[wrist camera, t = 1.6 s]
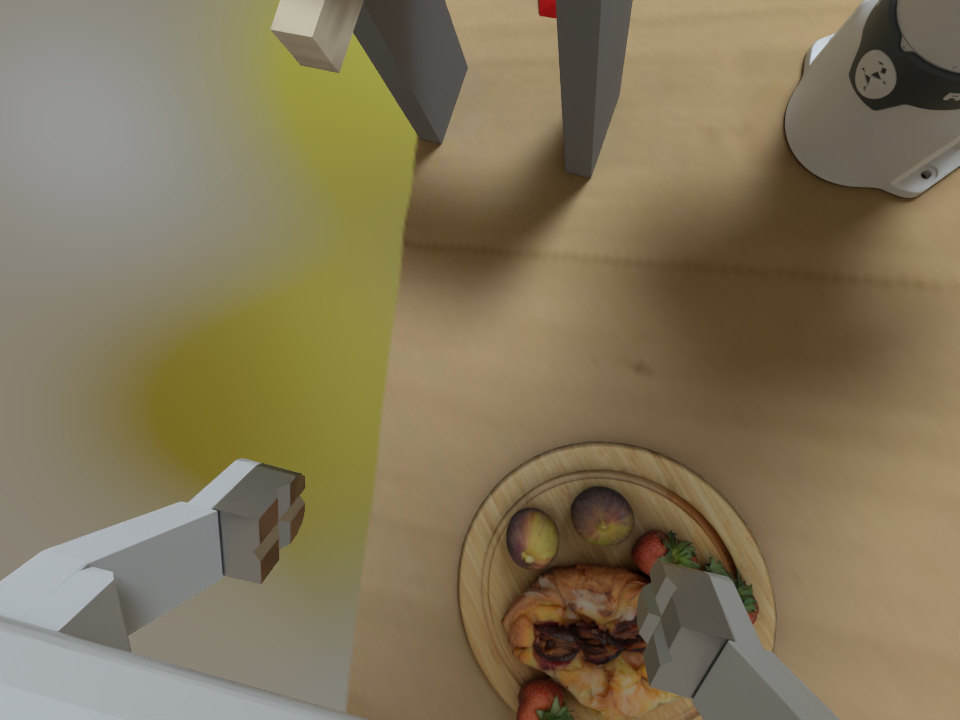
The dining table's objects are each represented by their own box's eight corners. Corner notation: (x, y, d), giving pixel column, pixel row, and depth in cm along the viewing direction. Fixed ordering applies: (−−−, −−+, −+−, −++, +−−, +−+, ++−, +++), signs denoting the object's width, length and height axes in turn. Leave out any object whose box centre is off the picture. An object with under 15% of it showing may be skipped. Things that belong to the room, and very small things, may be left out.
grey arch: (445, 63, 56) (335, -209, 30) (619, 95, 51) (660, -199, 25) (420, 138, 56) (288, -71, 30) (590, 178, 51) (603, -33, 25)
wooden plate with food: (602, 810, 47) (607, 899, 39) (408, 567, 53) (377, 598, 45) (844, 618, 43) (906, 670, 35) (605, 381, 49) (611, 380, 41)
